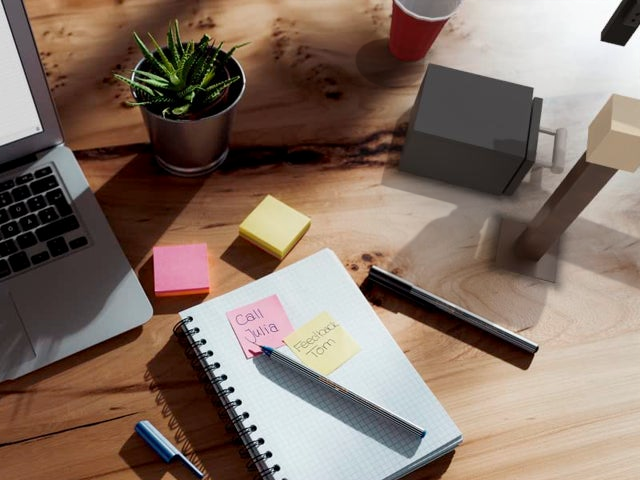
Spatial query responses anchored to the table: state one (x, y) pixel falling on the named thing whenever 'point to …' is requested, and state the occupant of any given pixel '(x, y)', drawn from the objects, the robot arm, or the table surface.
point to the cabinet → (467, 129)
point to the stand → (550, 223)
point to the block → (616, 134)
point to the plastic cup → (418, 25)
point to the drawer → (531, 148)
